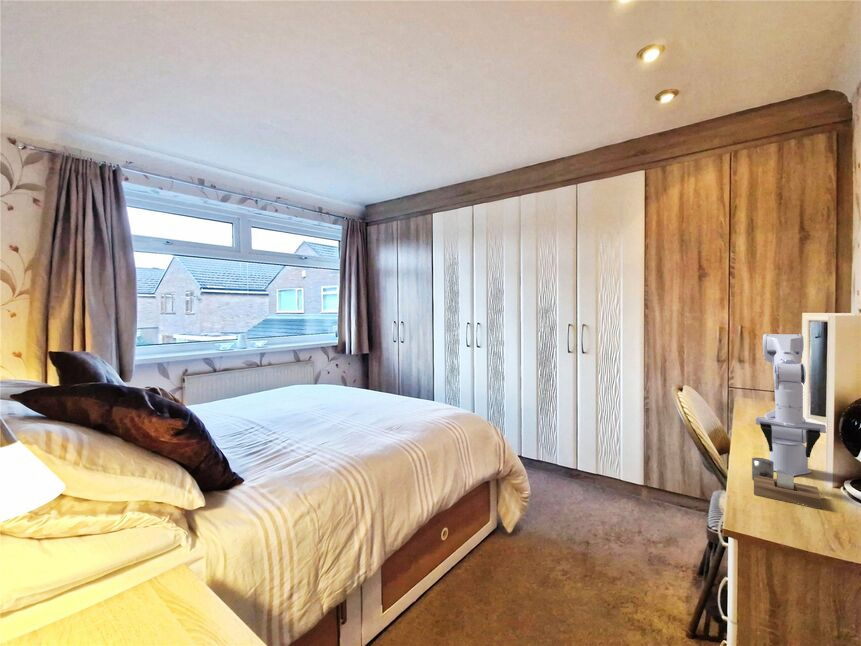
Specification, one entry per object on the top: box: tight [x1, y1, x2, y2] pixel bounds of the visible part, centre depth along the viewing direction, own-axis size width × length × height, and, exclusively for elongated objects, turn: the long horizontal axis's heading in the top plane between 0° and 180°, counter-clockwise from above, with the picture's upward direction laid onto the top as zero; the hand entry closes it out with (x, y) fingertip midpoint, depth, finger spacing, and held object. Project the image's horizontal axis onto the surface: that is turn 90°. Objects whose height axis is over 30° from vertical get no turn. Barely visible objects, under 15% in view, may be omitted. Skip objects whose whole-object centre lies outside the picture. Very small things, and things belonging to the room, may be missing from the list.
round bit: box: [751, 457, 775, 481], centre depth 114 cm, size 5×5×6 cm
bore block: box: [753, 475, 823, 510], centre depth 104 cm, size 9×13×2 cm
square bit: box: [776, 470, 795, 491], centre depth 104 cm, size 3×3×6 cm
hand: (788, 453), depth 110 cm, fingers open, 7 cm apart
